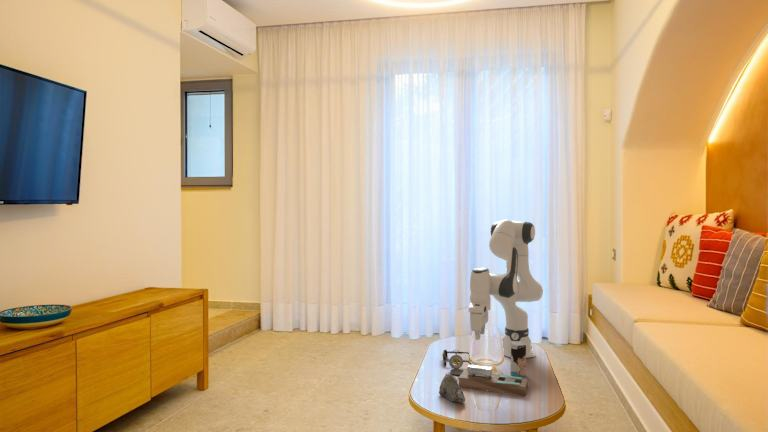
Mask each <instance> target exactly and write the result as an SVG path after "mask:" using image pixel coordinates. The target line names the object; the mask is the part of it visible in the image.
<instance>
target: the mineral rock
mask: <svg viewBox="0 0 768 432" xmlns="http://www.w3.org/2000/svg"><path fill="white" fill-rule="evenodd" d="M453 375H454V374H451V373H446V374H445V375H444V376H443V378H442V381H441V383H440V386H439V389H438V394H439V395H440V396H443V397H444V398H445V399H448V400H450V401H451V402H458V403H463V404H464V403H466V397H465V394H464V390H463V389H462V387H459V382H458V380H457V379H458V378H456V377H455V376H453Z"/></svg>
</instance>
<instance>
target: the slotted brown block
mask: <svg viewBox="0 0 768 432" xmlns="http://www.w3.org/2000/svg"><path fill="white" fill-rule="evenodd" d="M458 385H459V387H460V388H467V389H474V390H480V391H486V390H488V391H487V392H493V391H494V393H499V392H500V393H501V394H508V395H512V396H513V395H514V396H520V397H526V395H527V393H528V389H529V378H526V377H524V378H521V377H514V376H511V375H505V374H504V375H503V374H497V373H495V374H494V373H492V375H491V377H490V379H485V376H482V375H475V374H474V377H470V376H469V374H468V369H467V370H465V369H464V371H463V373H462V374H461V375H459V376H458Z"/></svg>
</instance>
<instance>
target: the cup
mask: <svg viewBox="0 0 768 432" xmlns="http://www.w3.org/2000/svg"><path fill="white" fill-rule="evenodd" d="M510 376H514V377H521V378H526V377H527V358H526V343H525V342H521V341H513V342H511V357H510Z"/></svg>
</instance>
